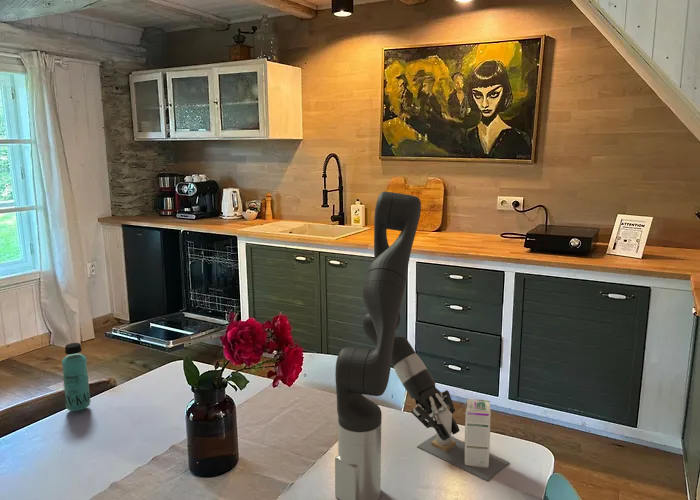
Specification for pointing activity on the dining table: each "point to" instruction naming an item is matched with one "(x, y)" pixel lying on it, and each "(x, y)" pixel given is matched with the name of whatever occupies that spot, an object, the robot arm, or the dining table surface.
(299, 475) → the dining table surface
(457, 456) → the candle tray
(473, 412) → the syrup box
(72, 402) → the beverage bottle
